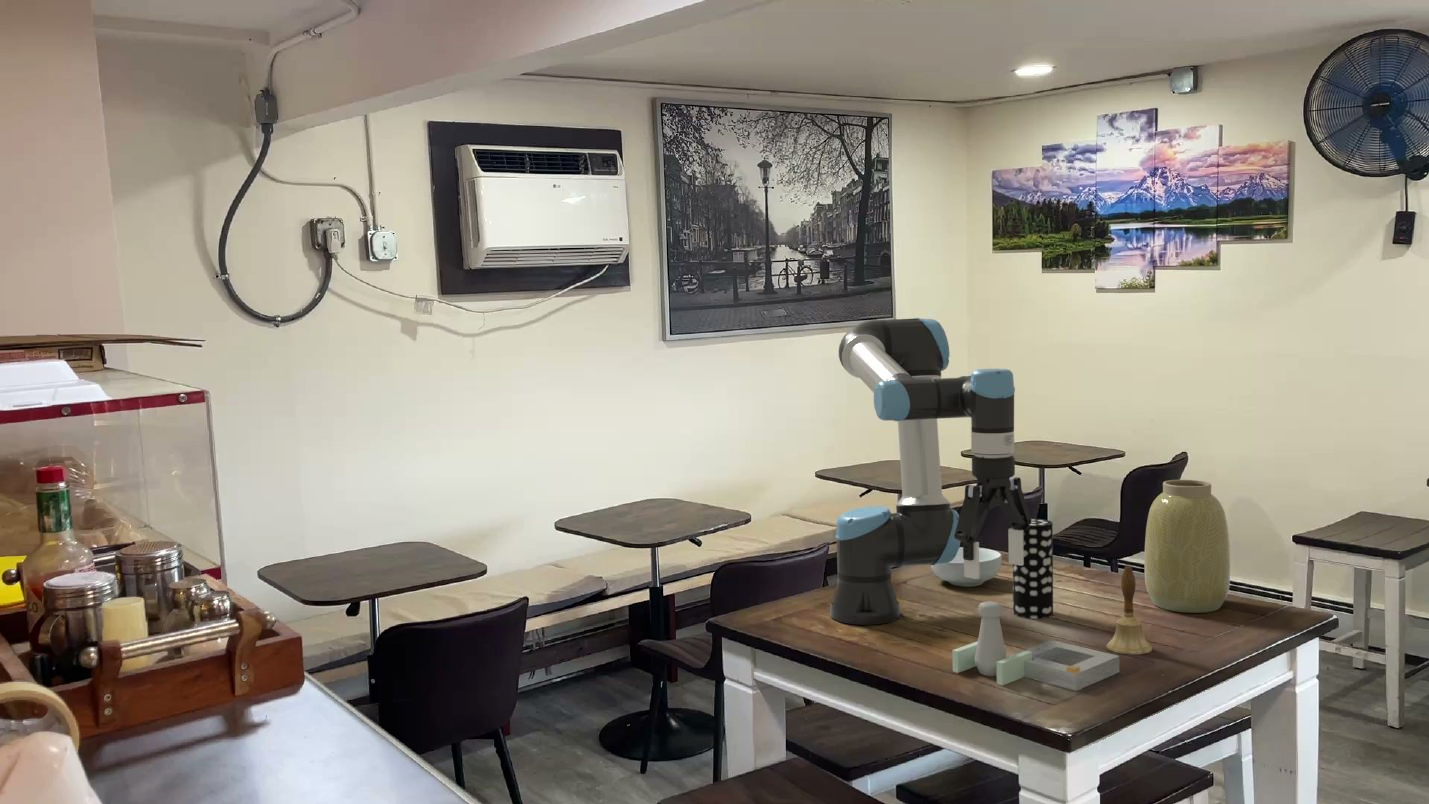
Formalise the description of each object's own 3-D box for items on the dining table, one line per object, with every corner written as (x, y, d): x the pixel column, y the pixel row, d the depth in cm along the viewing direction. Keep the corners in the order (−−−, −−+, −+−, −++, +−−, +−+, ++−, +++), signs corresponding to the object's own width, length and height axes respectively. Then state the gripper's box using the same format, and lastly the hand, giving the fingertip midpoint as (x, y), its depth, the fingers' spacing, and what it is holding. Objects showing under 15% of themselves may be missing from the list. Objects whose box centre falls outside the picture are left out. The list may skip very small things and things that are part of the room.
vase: (1240, 616, 235) (1241, 489, 232) (1154, 615, 237) (1154, 489, 235) (1217, 595, 251) (1217, 476, 249) (1136, 594, 254) (1136, 477, 252)
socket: (1007, 672, 204) (1007, 653, 204) (1051, 655, 213) (1051, 637, 213) (1076, 691, 194) (1076, 671, 193) (1119, 672, 202) (1119, 653, 202)
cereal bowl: (960, 571, 282) (959, 543, 281) (1015, 582, 269) (1015, 553, 268) (915, 583, 271) (915, 554, 271) (971, 595, 258) (971, 565, 258)
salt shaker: (1008, 678, 201) (1007, 607, 200) (975, 677, 202) (974, 606, 201) (1006, 668, 207) (1005, 599, 206) (974, 667, 208) (973, 598, 207)
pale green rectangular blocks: (952, 671, 206) (952, 650, 205) (982, 660, 212) (982, 639, 211) (1002, 685, 197) (1002, 663, 197) (1032, 673, 203) (1031, 652, 203)
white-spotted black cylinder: (1013, 618, 239) (1012, 525, 237) (1012, 607, 247) (1011, 518, 245) (1054, 619, 237) (1053, 526, 235) (1052, 609, 245) (1051, 518, 243)
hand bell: (1098, 649, 216) (1098, 568, 215) (1118, 639, 222) (1118, 560, 221) (1140, 658, 210) (1140, 574, 209) (1159, 647, 216) (1159, 566, 215)
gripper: (968, 464, 190) (969, 586, 192) (1050, 448, 207) (1051, 562, 208) (932, 460, 196) (934, 579, 198) (1015, 446, 212) (1016, 556, 214)
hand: (994, 571), depth 203 cm, fingers open, 13 cm apart
